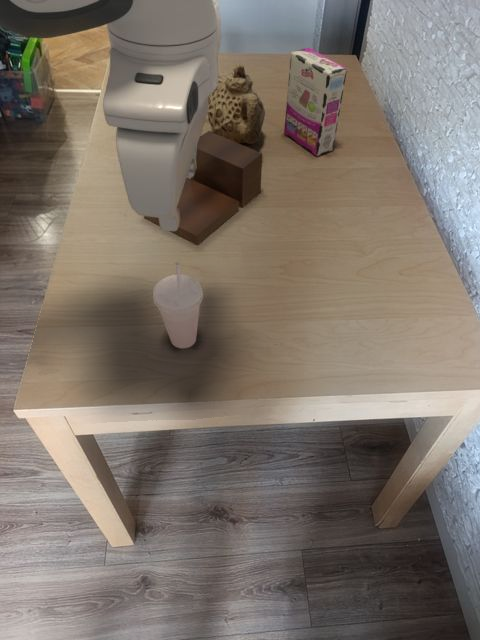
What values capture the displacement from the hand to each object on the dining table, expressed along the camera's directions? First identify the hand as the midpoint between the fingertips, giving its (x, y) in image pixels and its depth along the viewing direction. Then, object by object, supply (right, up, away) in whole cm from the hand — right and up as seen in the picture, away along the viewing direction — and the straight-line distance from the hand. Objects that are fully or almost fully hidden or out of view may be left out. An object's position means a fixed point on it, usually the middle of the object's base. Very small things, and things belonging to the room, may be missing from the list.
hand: (179, 198), depth 54 cm
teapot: (+4, +28, +52) cm, 59 cm away
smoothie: (-3, -15, +19) cm, 24 cm away
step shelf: (-2, +10, +38) cm, 39 cm away
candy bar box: (+19, +28, +53) cm, 62 cm away
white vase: (-4, +38, +59) cm, 70 cm away
